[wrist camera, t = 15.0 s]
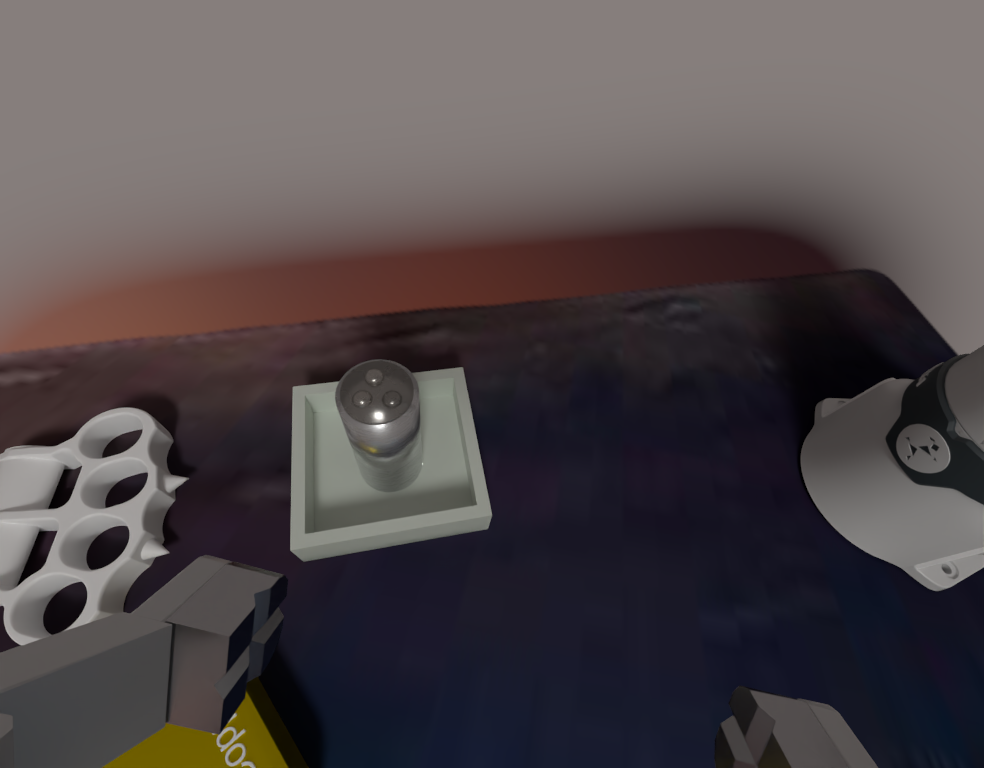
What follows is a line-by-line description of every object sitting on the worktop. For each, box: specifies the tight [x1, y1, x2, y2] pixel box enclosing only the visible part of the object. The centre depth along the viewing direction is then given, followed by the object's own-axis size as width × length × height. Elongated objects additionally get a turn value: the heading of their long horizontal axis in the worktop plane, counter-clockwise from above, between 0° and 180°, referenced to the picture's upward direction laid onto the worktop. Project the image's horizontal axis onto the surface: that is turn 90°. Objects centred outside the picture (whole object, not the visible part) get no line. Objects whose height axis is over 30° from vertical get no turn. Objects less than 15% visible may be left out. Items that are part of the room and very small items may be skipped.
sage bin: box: [290, 367, 492, 562], centre depth 41 cm, size 15×14×4 cm
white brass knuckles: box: [0, 407, 189, 645], centre depth 37 cm, size 3×18×15 cm
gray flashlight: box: [335, 359, 423, 492], centre depth 37 cm, size 6×6×13 cm
